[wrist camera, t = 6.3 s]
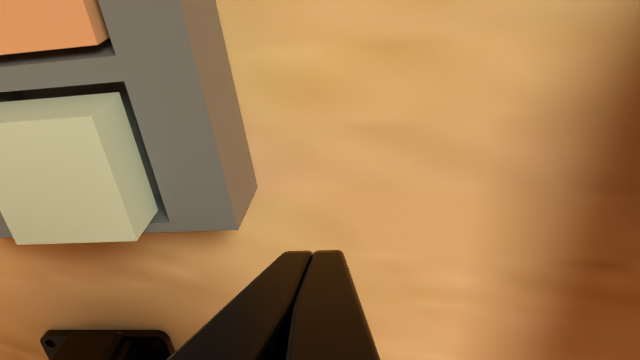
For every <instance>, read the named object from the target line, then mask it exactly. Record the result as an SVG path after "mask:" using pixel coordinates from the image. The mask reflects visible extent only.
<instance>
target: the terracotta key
mask: <svg viewBox="0 0 640 360" xmlns="http://www.w3.org/2000/svg"><path fill="white" fill-rule="evenodd" d="M109 37H110V36H109V33H108V30H107V27H106V24H105V21H104V17H103V14H102V11H101V8H100V5H99V2H98V0H0V55H5V54H15V53H24V52H34V51H44V50H53V49H63V48H72V47H82V46H92V45H98V44H100V43H101V42H103V41H104V40H106V39H107V38H109Z"/></svg>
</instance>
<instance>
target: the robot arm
mask: <svg viewBox="0 0 640 360" xmlns="http://www.w3.org/2000/svg"><path fill="white" fill-rule="evenodd" d="M40 342H41V344H42V346H43V348H44V350H45V352H46V354H47V356H48V358H49V360H380V358H379V355H378V352H377V349H376V346H375V343H374V340H373V337H372V335H371V332H370V329H369V326H368V323H367V320H366V317H365V314H364V312H363V309H362V306H361V303H360V300H359V297H358V294H357V291H356V288H355V286H354V283H353V280H352V277H351V274H350V271H349V268H348V265H347V263H346V260H345V257H344V254H343V252H342V251H340V250H319V251H316V252H314V254H313V253H312V252H311V251H287V252H285V253H283V254H282V255H281V256H280V257H278V258H277V259H276V260H275V261H274V262H273V263H272V264H271V265H270V266H269V267H268V268H266V269H265V270H264V271H263V272H262V273H261V274H260V275H259V276H258V277H257V278H255V279H254V280H253V281H252V282H251V283H250V284H249V285H248V286H247V287H246V288H245V289H243V290H242V291H241V292H240V293H239V294H238V295H237V296H236V297H235V298H234V299H233V300H231V301H230V302H229V303H228V304H227V305H226V306H225V307H224V308H223V309H222V310H221V311H219V312H218V313H217V314H216V315H215V316H214V317H213V318H212V319H211V320H210V321H209V322H207V323H206V324H205V325H204V326H203V327H202V328H201V329H200V330H199V331H198V332H197V333H195V334H194V335H193V336H192V337H191V338H190V339H189V340H188V341H187V342H186V343H185V344H183V345H182V346H181V347H180V348H179V349H178V350H177V351H176V352H175V351H174V348H173V345H172V342H171V340H170V337H169V336H168V335H167V334H166V333H165V332H163V331H159V330H48V331H47V332H45V334H44V335H43V336H42V338H41V340H40Z"/></svg>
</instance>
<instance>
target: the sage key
mask: <svg viewBox="0 0 640 360" xmlns="http://www.w3.org/2000/svg"><path fill="white" fill-rule="evenodd" d="M157 211H158V208H157V205H156V202H155V199H154V196H153V193H152V190H151V187H150V184H149V181H148V178H147V175H146V172H145V169H144V166H143V163H142V160H141V157H140V154H139V151H138V148H137V145H136V142H135V139H134V136H133V133H132V130H131V127H130V124H129V121H128V118H127V115H126V112H125V109H124V106H123V103H122V100H121V96H120V93H119V92H114V93H102V94H91V95H79V96H67V97H56V98H44V99H33V100H21V101H9V102H0V212H1V214H2V216H3V218H4V220H5V222H6V224H7V226H8V228H9V230H10V232H11V234H12V236H13V238H14V240H15V242H16V244H17V245H28V244H60V243H92V242H124V241H137V240H138V239H139V237H140V236H141V234H142V233H143V232H144V230H145V229H146V227H147V226H148V224H149V223H150V221H151V220H152V218H153V217H154V216H155V214H156V213H157Z"/></svg>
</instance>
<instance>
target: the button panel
mask: <svg viewBox="0 0 640 360" xmlns="http://www.w3.org/2000/svg"><path fill="white" fill-rule="evenodd" d="M98 2H99V5H100V8H101V11H102V14H103V17H104V21H105V24H106V27H107V30H108V33H109V36H110V37H109V38H107V39H106V40H104V41H103V42H101V43H100V44H98V45H92V46H82V47H72V48H63V49H53V50H44V51H34V52H24V53H15V54H5V55H0V102H9V101H21V100H33V99H44V98H56V97H67V96H79V95H91V94H102V93H114V92H119V93H120V96H121V100H122V103H123V106H124V109H125V112H126V115H127V118H128V121H129V124H130V127H131V130H132V133H133V136H134V139H135V142H136V145H137V148H138V151H139V154H140V157H141V160H142V163H143V166H144V169H145V172H146V175H147V178H148V181H149V184H150V187H151V190H152V193H153V196H154V199H155V202H156V205H157V208H158V211H157V213H156V214H155V216H154V217H153V218H152V220H151V221H150V223H149V224H148V226H147V227H146V229H145V230H144V232H143V233H160V232H189V231H219V230H238V229H239V227H240V225H241V222H242V220H243V218H244V216H245V214H246V211H247V209H248V207H249V205H250V203H251V200H252V198H253V196H254V194H255V192H256V189H257V184H256V179H255V175H254V170H253V166H252V162H251V157H250V153H249V148H248V144H247V139H246V135H245V131H244V126H243V122H242V117H241V113H240V109H239V104H238V100H237V95H236V91H235V86H234V82H233V78H232V73H231V69H230V64H229V60H228V55H227V51H226V47H225V42H224V38H223V33H222V29H221V24H220V20H219V16H218V11H217V7H216V2H215V0H98ZM12 237H13V236H12V234H11V232H10V230H9V228H8V226H7V224H6V222H5V220H4V218H3V216H2V214H1V212H0V238H12Z"/></svg>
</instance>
